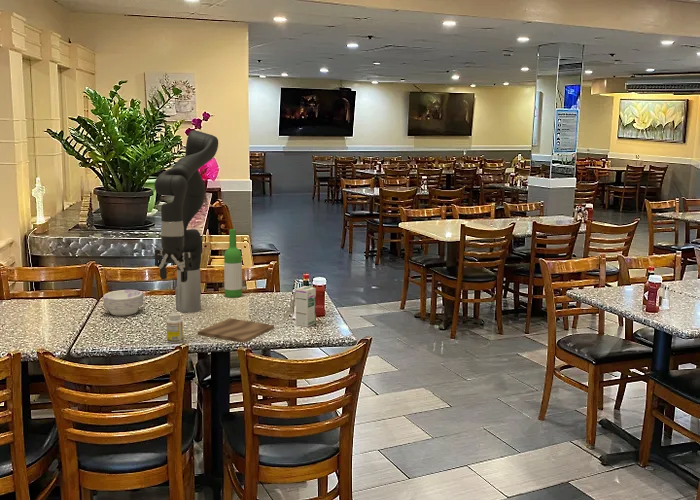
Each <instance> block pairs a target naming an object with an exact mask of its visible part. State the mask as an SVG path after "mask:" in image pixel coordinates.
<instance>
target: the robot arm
mask: <svg viewBox="0 0 700 500" xmlns="http://www.w3.org/2000/svg"><path fill="white" fill-rule="evenodd" d="M185 143H186V144H185V153H184V155H185V156H182V157H181V158H180V159H178V160H177V161H176V162H175V164H174V165H173V166H172V167H170V168H169V169H166V170H165V171H162V172H161V173H160V174H159V175H158V176H157V177H156V179H155V181H154V189H155V192H156V193H157V194H158V195H159V196H164V197H173V199H172V201H171V202H165V203H163V204H162V205H161V206H160V213H161V215H160V220H161V224H160V236H161V237H160V241H161V248H158V249H155V250H154V267H157V268H159V275H160V279H161V280H167V278H168V271H167V266H168V265H169V264H172V265H173V264H174V265H176V281H177V282H176V283H177V284H176V287H175V290H174V292H175V294H174V295H175V310H176V311H178V312H180V313H195V312H199V311H201V310H202V299H201V298H202V294H201V293H202V291H201V288H202V287H201V262H202V236H201V233H200V231H199V230H198V229H196V228H192V229H188V226H189V224H190V222H191V221H192V220H193V218H194V217H196V215H197V214H198V212H200V210H201V208H202V207H203V205H204V201H205V195H206V185H205V182H204V179H203V177H202V175H201V174H200V171H199V169H201V168H202V167H203V166H204V165H206V164H207V163H208V162H210V161H211V160H212V159H213V158H214V157H215V156H216V154H217V152H218V148H219V139H218V138H217V136H215V135H213V134H210V133H206V132H202V131H200V130H197V129H195V130H194V129H192V130H191V131H190V132H189V133H188V135H187V138H186V142H185Z"/></svg>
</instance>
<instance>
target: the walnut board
mask: <svg viewBox="0 0 700 500" xmlns="http://www.w3.org/2000/svg"><path fill="white" fill-rule="evenodd" d="M273 329H275V324H270V323H269V324H267V323H261V322H256V321H249V320H242V319H238V318H231V317H229V318H227V319H224V320H222V321H220V322H216V323H214V324H212V325H210V326H208V327H204V328H202V329H200V330H198V331H197V336H198V335H199V336H202V337H203V336H204V337H208V338H209V337H210V338H215V339H220V340H221V339H222V340H225V341H233V342H237V343H246V342H248V341H251V340H252V339H254V338H255V339H256V338H257V337H259V336H261V335H263V334H266V333H268V332H269V331H271V330H273Z"/></svg>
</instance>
